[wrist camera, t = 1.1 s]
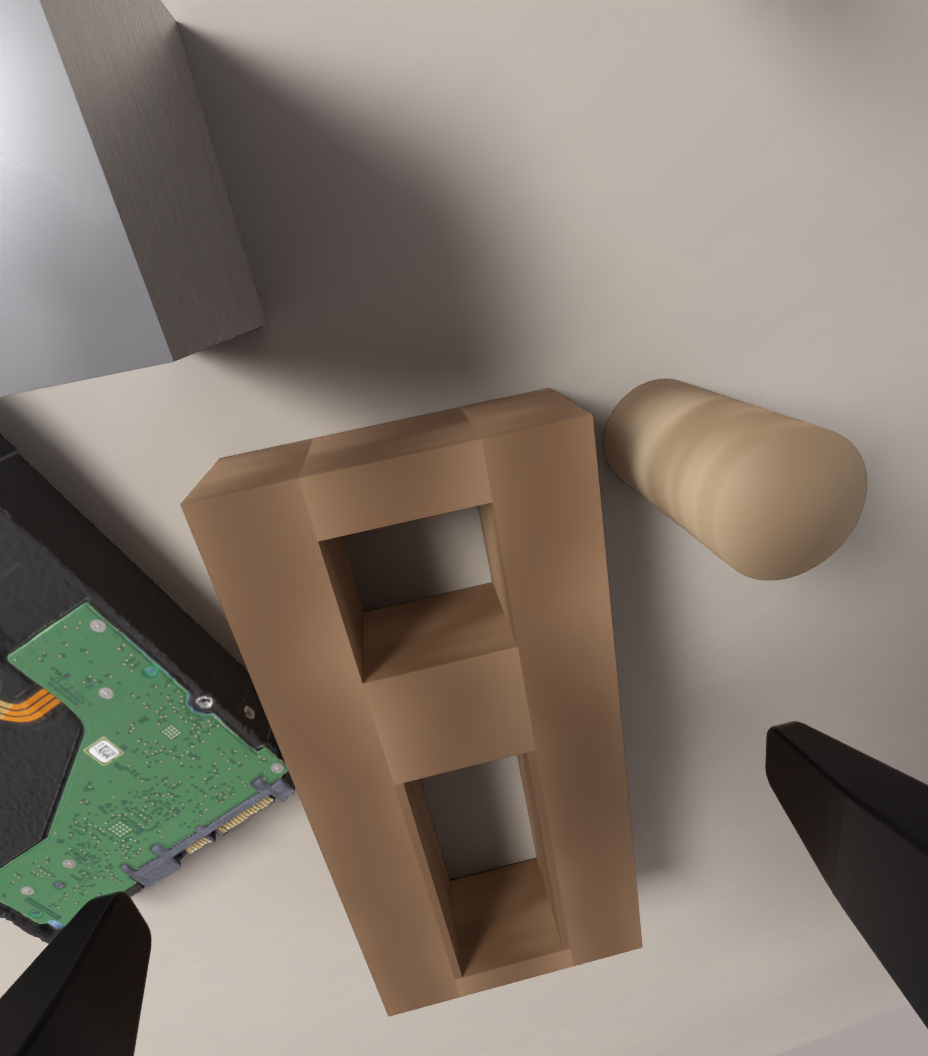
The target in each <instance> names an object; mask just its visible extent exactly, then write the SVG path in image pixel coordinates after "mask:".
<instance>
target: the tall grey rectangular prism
mask: <svg viewBox="0 0 928 1056" xmlns="http://www.w3.org/2000/svg"><path fill="white" fill-rule="evenodd" d="M265 324H267V321H266V318H265V314H264V311H263V308H262V304H261V301H260V298H259V294H258V291H257V288H256V285H255V281H254V278H253V275H252V271H251V268H250V265H249V261H248V258H247V255H246V251H245V248H244V245H243V241H242V238H241V235H240V231H239V228H238V225H237V221H236V218H235V215H234V212H233V208H232V205H231V202H230V198H229V195H228V192H227V188H226V185H225V182H224V178H223V175H222V172H221V168H220V165H219V162H218V158H217V155H216V152H215V148H214V145H213V142H212V138H211V135H210V132H209V129H208V125H207V122H206V119H205V115H204V112H203V109H202V105H201V102H200V99H199V95H198V92H197V89H196V85H195V82H194V79H193V75H192V72H191V69H190V65H189V62H188V59H187V56H186V52H185V49H184V46H183V42H182V39H181V36H180V32H179V29H178V26H177V22H176V20H175V19H174V18H173V16H172V15H171V14H170V12H169V11H168V10H167V8H166V7H165V6H164V4H163V3H162V2H161V0H0V397H2V396H7V395H12V394H17V393H22V392H27V391H32V390H37V389H42V388H47V387H52V386H57V385H61V384H66V383H71V382H76V381H81V380H86V379H91V378H96V377H101V376H106V375H111V374H116V373H121V372H125V371H130V370H135V369H140V368H145V367H150V366H155V365H160V364H165V363H170V362H174V361H177V360H179V359H182V358H184V357H187V356H189V355H191V354H194V353H196V352H199V351H201V350H204V349H206V348H209V347H211V346H214V345H216V344H219V343H221V342H223V341H226V340H228V339H231V338H233V337H236V336H238V335H241V334H243V333H246V332H248V331H251V330H253V329H255V328H258V327H260V326H263V325H265Z"/></svg>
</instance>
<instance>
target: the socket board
mask: <svg viewBox="0 0 928 1056" xmlns="http://www.w3.org/2000/svg"><path fill="white" fill-rule="evenodd" d="M180 505H181V507H182V510H183V512H184V515H185V517H186V520H187V522H188V524H189V527H190V529H191V532H192V534H193V537H194V539H195V542H196V544H197V547H198V549H199V552H200V554H201V556H202V559H203V561H204V564H205V566H206V569H207V571H208V574H209V576H210V579H211V581H212V584H213V586H214V588H215V591H216V593H217V596H218V598H219V601H220V603H221V606H222V608H223V611H224V613H225V615H226V618H227V620H228V623H229V625H230V628H231V630H232V633H233V635H234V638H235V640H236V643H237V645H238V647H239V650H240V652H241V655H242V657H243V660H244V662H245V665H246V667H247V670H248V672H249V675H250V677H251V679H252V682H253V684H254V687H255V689H256V692H257V694H258V697H259V699H260V702H261V704H262V707H263V709H264V711H265V714H266V716H267V719H268V721H269V724H270V726H271V729H272V731H273V734H274V736H275V739H276V741H277V743H278V746H279V748H280V751H281V753H282V756H283V758H284V761H285V763H286V766H287V768H288V771H289V773H290V775H291V778H292V780H293V783H294V785H295V788H296V790H297V793H298V795H299V798H300V800H301V803H302V805H303V807H304V810H305V812H306V815H307V817H308V820H309V822H310V825H311V827H312V830H313V832H314V834H315V837H316V839H317V842H318V844H319V847H320V849H321V852H322V854H323V857H324V859H325V862H326V864H327V866H328V869H329V871H330V874H331V876H332V879H333V881H334V884H335V886H336V889H337V891H338V894H339V896H340V898H341V901H342V903H343V906H344V908H345V911H346V913H347V916H348V918H349V921H350V923H351V926H352V928H353V930H354V933H355V935H356V938H357V940H358V943H359V945H360V948H361V950H362V953H363V955H364V958H365V960H366V962H367V965H368V967H369V970H370V972H371V975H372V977H373V980H374V982H375V985H376V987H377V990H378V992H379V994H380V997H381V999H382V1002H383V1004H384V1007H385V1009H386V1012H387V1014H388V1017H389V1016H393V1015H396V1014H400V1013H404V1012H407V1011H411V1010H415V1009H418V1008H422V1007H426V1006H429V1005H433V1004H437V1003H440V1002H444V1001H448V1000H451V999H455V998H459V997H462V996H466V995H470V994H473V993H477V992H481V991H484V990H488V989H492V988H495V987H499V986H503V985H506V984H510V983H514V982H518V981H521V980H525V979H529V978H532V977H536V976H540V975H543V974H547V973H551V972H554V971H558V970H562V969H565V968H569V967H573V966H576V965H580V964H584V963H587V962H591V961H595V960H598V959H602V958H606V957H609V956H613V955H617V954H620V953H624V952H628V951H631V950H635V949H639V948H642V936H641V925H640V915H639V904H638V893H637V883H636V872H635V861H634V851H633V840H632V829H631V819H630V808H629V797H628V786H627V776H626V765H625V754H624V744H623V733H622V722H621V712H620V701H619V690H618V680H617V669H616V658H615V647H614V637H613V626H612V615H611V605H610V594H609V583H608V573H607V562H606V551H605V541H604V530H603V519H602V508H601V498H600V487H599V476H598V466H597V455H596V444H595V434H594V423H593V415H592V414H591V413H589V412H587V411H586V410H584V409H582V408H581V407H579V406H578V405H576V404H574V403H573V402H571V401H569V400H568V399H566V398H565V397H563V396H561V395H560V394H558V393H556V392H555V391H553V390H552V389H550V388H547V389H543V390H538V391H533V392H529V393H524V394H519V395H515V396H510V397H505V398H500V399H496V400H491V401H486V402H482V403H477V404H472V405H468V406H463V407H458V408H454V409H449V410H444V411H440V412H435V413H430V414H425V415H421V416H416V417H411V418H407V419H402V420H397V421H393V422H388V423H383V424H379V425H374V426H369V427H365V428H360V429H355V430H351V431H346V432H341V433H336V434H332V435H327V436H322V437H318V438H313V439H308V440H304V441H299V442H294V443H290V444H285V445H280V446H276V447H271V448H266V449H261V450H257V451H252V452H247V453H243V454H238V455H233V456H229V457H224V458H220V459H219V460H218V461H217V462H216V463H215V464H214V466H213V467H212V468H211V469H210V470H209V471H208V473H207V474H206V475H205V476H204V477H203V478H202V480H201V481H200V482H199V483H198V484H197V485H196V487H195V488H194V489H193V490H192V491H191V492H190V494H189V495H188V496H187V497H186V498H185V499H184V501H183V502H182V503H181V504H180ZM474 506H478V508H479V513H480V519H481V524H482V530H483V535H484V540H485V546H486V551H487V557H488V562H489V567H490V573H491V578H492V583H488V584H484V585H479V586H475V587H471V588H466V589H462V590H458V591H453V592H449V593H445V594H440V595H436V596H432V597H427V598H423V599H419V600H415V601H410V602H406V603H402V604H397V605H393V606H389V607H384V608H380V609H376V610H371V611H367V612H364V609H363V606H362V603H361V599H360V596H359V592H358V589H357V586H356V582H355V579H354V575H353V572H352V568H351V565H350V562H349V558H348V555H347V551H346V548H345V545H344V541H343V538H342V536H345V535H349V534H354V533H358V532H363V531H367V530H372V529H376V528H381V527H385V526H389V525H394V524H398V523H403V522H407V521H412V520H416V519H421V518H425V517H430V516H434V515H439V514H443V513H448V512H452V511H457V510H461V509H465V508H470V507H474ZM513 755H517V757H518V762H519V767H520V773H521V778H522V783H523V788H524V793H525V799H526V804H527V809H528V814H529V820H530V825H531V830H532V835H533V840H534V846H535V851H536V856H537V858H536V859H532V860H529V861H525V862H521V863H517V864H513V865H509V866H506V867H502V868H498V869H494V870H490V871H486V872H482V873H479V874H475V875H471V876H467V877H463V878H459V879H456V880H452V881H450V880H449V876H448V873H447V869H446V866H445V862H444V859H443V855H442V852H441V848H440V845H439V841H438V838H437V834H436V831H435V827H434V824H433V820H432V817H431V813H430V810H429V806H428V803H427V799H426V796H425V792H424V789H423V785H422V782H421V778H425V777H429V776H433V775H437V774H441V773H445V772H449V771H453V770H457V769H461V768H465V767H469V766H473V765H477V764H481V763H485V762H489V761H493V760H497V759H501V758H505V757H509V756H513Z"/></svg>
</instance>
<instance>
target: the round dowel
mask: <svg viewBox="0 0 928 1056" xmlns="http://www.w3.org/2000/svg"><path fill="white" fill-rule="evenodd" d="M604 448H605V454H606V457H607V460H608V463H609V465H610V467H611V468H612V470H613V471H614V472H615V473H616V474H617V476H618V477H620V478H621V479H622V480H623V481H625V482H626V483H627V484H628V485H630V486H631V487H632V488H633V489H635V490H636V491H637V492H638V493H640V494H641V495H642V496H643V497H645V498H646V499H647V500H648V501H650V502H651V503H652V504H653V505H655V506H656V507H657V508H658V509H660V510H661V511H662V512H663V513H665V514H666V515H667V516H668V517H670V518H671V519H672V520H673V521H675V522H676V523H677V524H678V525H680V526H681V527H682V528H683V529H685V530H686V531H687V532H688V533H690V534H691V535H692V536H693V537H694V538H696V539H697V540H698V541H699V542H701V543H702V544H703V545H704V546H706V547H707V548H708V549H709V550H711V551H712V552H713V553H714V554H716V555H717V556H718V557H719V558H721V559H722V560H723V561H724V562H726V563H727V564H728V565H729V566H731V567H732V568H733V569H734V570H736V571H737V572H739V573H741V574H742V575H745V576H747V577H750V578H754V579H758V580H780V579H786V578H790V577H793V576H797V575H799V574H802V573H804V572H806V571H808V570H810V569H812V568H814V567H816V566H817V565H819V564H820V563H822V562H823V561H824V560H826V559H827V558H828V557H829V556H831V555H832V554H833V553H834V552H835V551H836V550H837V549H838V548H839V547H840V546H841V545H842V544H843V542H844V541H845V540H846V539H847V537H848V536H849V534H850V533H851V532H852V530H853V528H854V527H855V525H856V523H857V521H858V519H859V517H860V514H861V512H862V509H863V506H864V502H865V498H866V492H867V475H866V469H865V465H864V462H863V460H862V457H861V455H860V454H859V452H858V451H857V449H856V447H855V446H854V445H853V444H852V443H851V442H850V441H849V440H847V439H846V438H844V437H843V436H841V435H839V434H837V433H835V432H833V431H830V430H827V429H824V428H821V427H818V426H815V425H812V424H809V423H806V422H803V421H800V420H797V419H793V418H790V417H787V416H784V415H781V414H778V413H775V412H772V411H769V410H766V409H763V408H760V407H757V406H754V405H751V404H748V403H745V402H742V401H739V400H736V399H733V398H730V397H727V396H724V395H721V394H718V393H715V392H712V391H709V390H706V389H703V388H700V387H697V386H694V385H691V384H688V383H685V382H681V381H678V380H673V379H658V380H653V381H649V382H646V383H644V384H642V385H640V386H638V387H636V388H635V389H633V390H632V391H630V392H629V393H628V394H627V395H626V396H625V397H624V398H622V400H621V401H620V402H619V403H618V404H617V406H616V407H615V409H614V410H613V412H612V414H611V416H610V418H609V420H608V423H607V426H606V430H605V437H604Z"/></svg>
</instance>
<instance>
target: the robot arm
mask: <svg viewBox="0 0 928 1056" xmlns="http://www.w3.org/2000/svg"><path fill="white" fill-rule="evenodd" d="M765 769H766V775H767V779H768V781H769V784H770V786H771V788H772V790H773V791H774V793H775V795H776V797H777V798H778V800H779V802H780V803H781V805H782V807H783V809H784V810H785V812H786V814H787V816H788V817H789V819H790V821H791V823H792V824H793V826H794V828H795V829H796V831H797V833H798V835H799V836H800V838H801V840H802V842H803V843H804V845H805V847H806V849H807V850H808V852H809V854H810V855H811V857H812V859H813V861H814V862H815V864H816V866H817V868H818V869H819V871H820V873H821V875H822V876H823V878H824V880H825V881H826V883H827V885H828V886H829V888H830V889H831V891H832V893H833V894H834V896H835V897H836V899H837V900H838V902H839V903H840V905H841V906H842V908H843V909H844V911H845V912H846V914H847V915H848V917H849V918H850V919H851V921H852V922H853V924H854V925H855V926H856V928H857V929H858V931H859V932H860V934H861V935H862V936H863V938H864V939H865V941H866V942H867V943H868V945H869V946H870V948H871V949H872V951H873V952H874V953H875V955H876V956H877V958H878V959H879V960H880V962H881V963H882V965H883V966H884V968H885V969H886V970H887V972H888V973H889V975H890V976H891V978H892V979H893V980H894V982H895V983H896V985H897V986H898V987H899V989H900V990H901V992H902V993H903V995H904V996H905V997H906V999H907V1000H908V1002H909V1003H910V1004H911V1006H912V1007H913V1009H914V1010H915V1012H916V1013H917V1014H918V1016H919V1017H920V1018H921V1020H922V1021H923V1023H924V1024H925V1026H926V1027H927V1029H928V785H927V784H925V783H923V782H921V781H919V780H917V779H915V778H913V777H911V776H909V775H907V774H905V773H903V772H901V771H899V770H897V769H895V768H893V767H891V766H889V765H887V764H885V763H883V762H880V761H878V760H876V759H874V758H872V757H870V756H868V755H866V754H864V753H862V752H860V751H858V750H856V749H854V748H852V747H850V746H848V745H846V744H844V743H842V742H840V741H838V740H836V739H834V738H832V737H830V736H828V735H826V734H824V733H822V732H820V731H818V730H816V729H814V728H812V727H810V726H808V725H806V724H804V723H801V722H797V721H792V722H788V723H784V724H780V725H776V726H772V727H770V728H769V730H768V731H767V737H766V765H765ZM150 952H151V933H150V929H149V927H148V925H147V923H146V921H145V920H144V918H143V917H142V915H141V913H140V912H139V910H138V909H137V907H136V905H135V904H134V902H133V901H132V899H131V898H130V896H129V895H128V894H127V893H125V892H123V891H118V892H114V893H110V894H106V895H102V896H98V897H95V898H93V899H91V900H89V901H88V902H87V903H86V904H85V905H84V906H83V907H82V908H81V909H80V910H79V911H78V912H77V913H76V915H75V916H74V917H73V918H72V919H71V920H70V921H69V922H68V923H67V925H66V926H65V927H64V928H63V929H62V930H61V931H60V932H59V934H58V935H57V936H56V937H55V938H54V939H53V940H52V941H51V942H50V944H49V945H48V946H47V947H46V948H45V949H44V950H43V951H42V952H41V954H40V955H39V956H38V957H37V958H36V959H35V960H34V961H33V962H32V964H31V965H30V966H29V967H28V968H27V969H26V970H25V971H24V973H23V974H22V975H21V976H20V977H19V978H18V979H17V980H16V981H15V983H14V984H13V985H12V986H11V987H10V988H9V989H8V990H7V991H6V993H5V994H4V995H3V996H2V997H1V998H0V1056H134V1052H135V1045H136V1039H137V1033H138V1027H139V1020H140V1014H141V1008H142V1002H143V995H144V989H145V983H146V977H147V970H148V964H149V958H150Z"/></svg>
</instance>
